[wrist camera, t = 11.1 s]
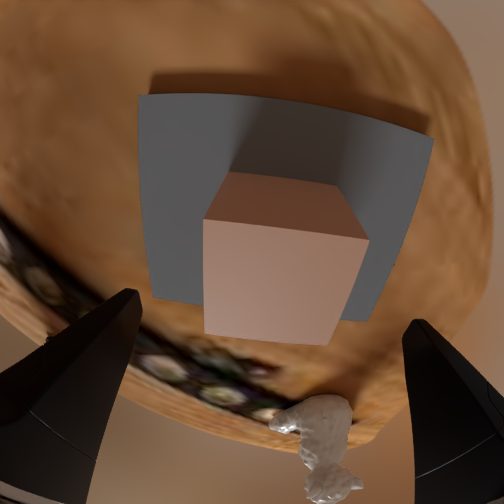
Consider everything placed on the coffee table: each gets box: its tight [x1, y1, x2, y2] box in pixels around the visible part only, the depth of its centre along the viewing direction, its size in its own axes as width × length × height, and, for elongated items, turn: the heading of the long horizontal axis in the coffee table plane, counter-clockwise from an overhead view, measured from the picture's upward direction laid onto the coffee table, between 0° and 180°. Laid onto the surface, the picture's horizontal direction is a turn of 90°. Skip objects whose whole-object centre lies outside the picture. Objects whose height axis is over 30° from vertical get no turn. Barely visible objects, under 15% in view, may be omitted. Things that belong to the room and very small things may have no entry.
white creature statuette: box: [269, 394, 364, 504], centre depth 20 cm, size 10×9×12 cm
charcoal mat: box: [138, 93, 434, 321], centre depth 14 cm, size 12×14×1 cm
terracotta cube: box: [203, 172, 370, 345], centre depth 11 cm, size 5×5×5 cm
